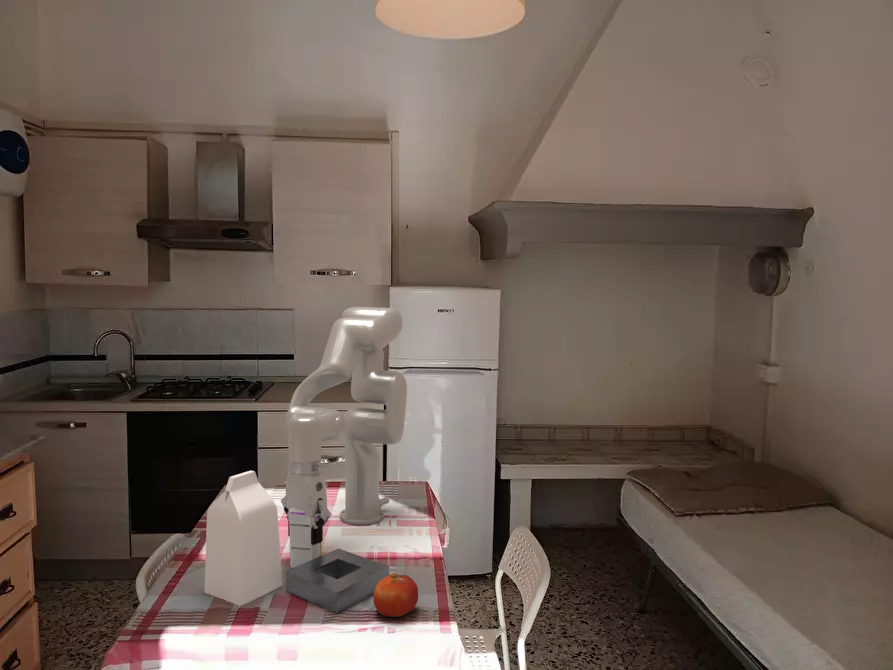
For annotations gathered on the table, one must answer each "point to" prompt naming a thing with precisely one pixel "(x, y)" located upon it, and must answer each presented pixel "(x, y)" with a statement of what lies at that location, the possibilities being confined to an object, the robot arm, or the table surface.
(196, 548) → the table surface
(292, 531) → the syrup box
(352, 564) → the bore block
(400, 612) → the tomato
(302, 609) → the table surface
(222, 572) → the milk
